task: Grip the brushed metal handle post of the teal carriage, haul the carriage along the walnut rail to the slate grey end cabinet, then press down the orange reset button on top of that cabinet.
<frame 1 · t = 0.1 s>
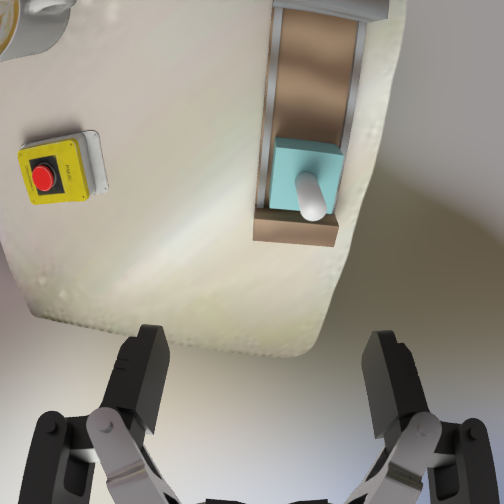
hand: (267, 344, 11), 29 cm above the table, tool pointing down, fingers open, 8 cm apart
rail: (307, 112, 33), on the table
coffee mug: (51, 18, 24), on the table
carriage: (307, 186, 31), point 7 cm above the table, slide at 11.5 cm
emergency button: (63, 165, 38), on the table
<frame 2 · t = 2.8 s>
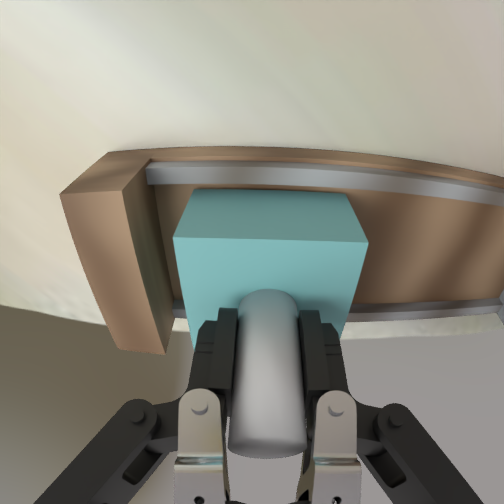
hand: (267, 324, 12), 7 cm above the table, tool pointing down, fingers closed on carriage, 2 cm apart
rail: (376, 237, 17), on the table
carriage: (268, 328, 12), point 7 cm above the table, slide at 11.5 cm, touching gripper
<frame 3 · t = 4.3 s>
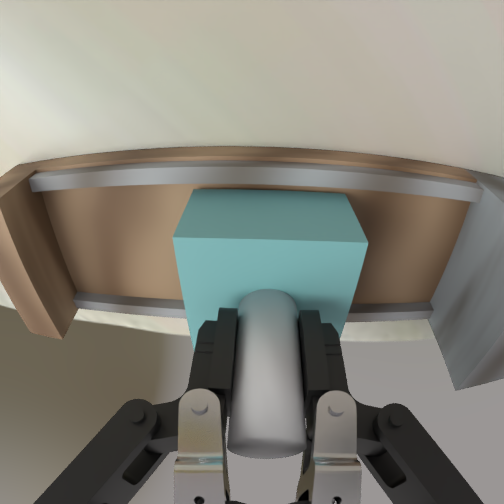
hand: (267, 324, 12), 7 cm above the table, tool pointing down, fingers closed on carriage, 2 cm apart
rail: (253, 232, 18), on the table
carriage: (267, 328, 12), point 7 cm above the table, slide at 4.2 cm, touching gripper
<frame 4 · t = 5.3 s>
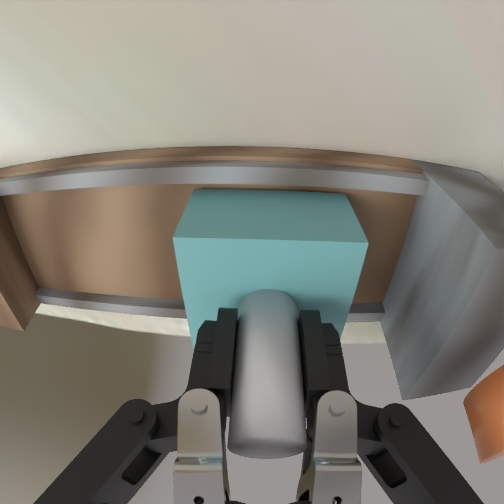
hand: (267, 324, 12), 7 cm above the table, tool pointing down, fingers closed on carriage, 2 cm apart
rail: (188, 231, 18), on the table
carriage: (267, 328, 12), point 7 cm above the table, slide at 0.5 cm, touching gripper
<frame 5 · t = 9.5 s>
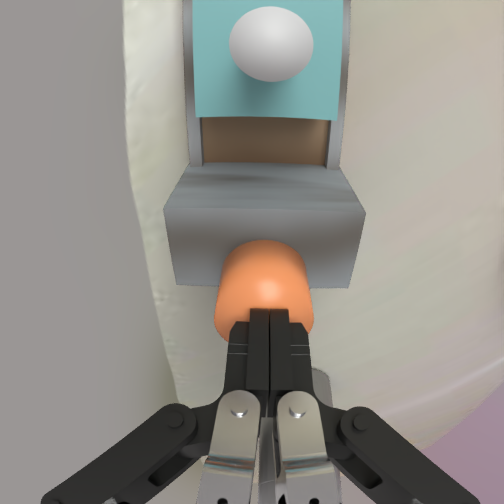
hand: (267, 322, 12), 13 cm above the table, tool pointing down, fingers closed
carriage: (268, 47, 11), point 7 cm above the table, slide at 0.5 cm
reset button: (263, 297, 14), point 11 cm above the table, slide at 1.9 cm, touching gripper
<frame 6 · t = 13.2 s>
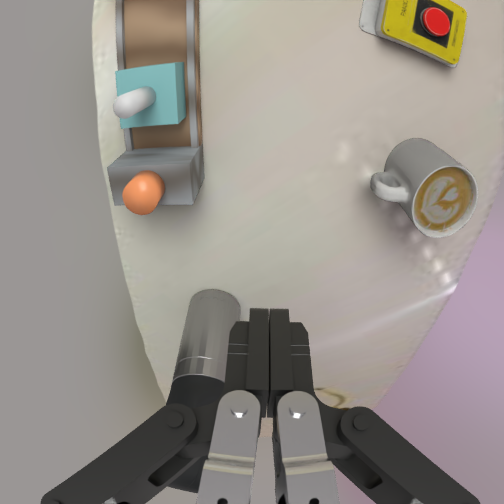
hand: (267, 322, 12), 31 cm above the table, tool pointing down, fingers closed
rail: (159, 56, 32), on the table
coffee mug: (404, 167, 39), on the table
carriage: (142, 97, 29), point 7 cm above the table, slide at 0.5 cm
emergency button: (414, 19, 27), on the table
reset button: (143, 192, 32), point 10 cm above the table, slide at 0.2 cm
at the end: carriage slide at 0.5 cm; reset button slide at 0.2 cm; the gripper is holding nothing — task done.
